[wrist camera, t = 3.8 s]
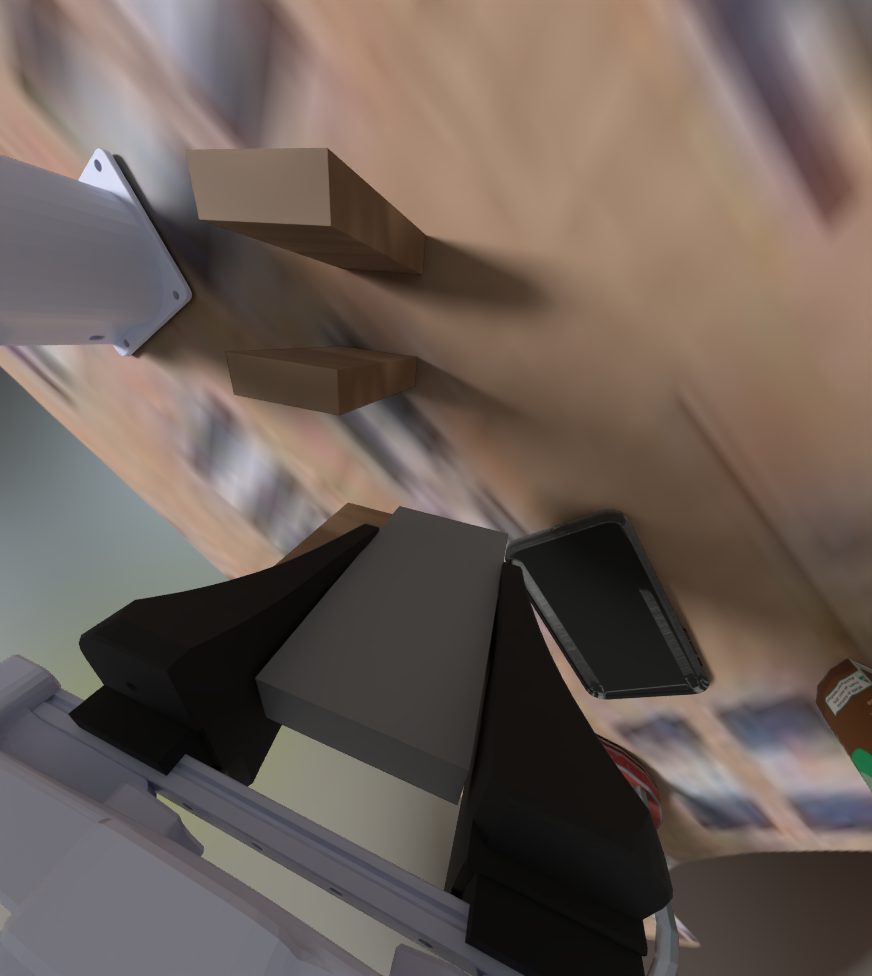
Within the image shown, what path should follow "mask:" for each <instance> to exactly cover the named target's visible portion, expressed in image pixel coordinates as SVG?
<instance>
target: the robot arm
mask: <svg viewBox="0 0 872 976" xmlns="http://www.w3.org/2000/svg"><path fill="white" fill-rule="evenodd" d="M191 298H192V292H191V290H190V288H189V286H188V284H187V282H186V281H185V279H184V277H183V276H182V274H181V272H180V270H179V269H178V267H177V265H176V264H175V262H174V260H173V258H172V257H171V255H170V253H169V252H168V250H167V248H166V247H165V245H164V243H163V241H162V240H161V238H160V236H159V235H158V233H157V231H156V229H155V228H154V226H153V224H152V223H151V221H150V219H149V217H148V216H147V214H146V212H145V211H144V209H143V207H142V205H141V204H140V202H139V200H138V199H137V197H136V195H135V193H134V192H133V190H132V188H131V187H130V185H129V183H128V181H127V180H126V178H125V176H124V175H123V173H122V171H121V170H120V168H119V166H118V164H117V163H116V161H115V159H114V158H113V156H112V155H111V153H110V152H108V151H106V150H104V149H102V148H98V149H96V151H95V153H94V154H93V156H92V158H91V159H90V161H89V163H88V165H87V166H86V168H85V170H84V171H83V173H82V175H81V177H80V178H79V180H75V179H72V178H69V177H66V176H63V175H60V174H57V173H54V172H51V171H48V170H45V169H42V168H39V167H36V166H33V165H30V164H27V163H24V162H21V161H18V160H16V159H13V158H10V157H7V156H4V155H1V154H0V345H1V346H24V345H86V344H113V346H114V347H115V349H116V350H117V352H118V353H119V354H120V355H122V356H124V357H125V356H131V355H132V354H133V353H134V352H135V351H136V350H137V349H138V348H139V347H140V346H141V345H142V344H143V343H145V342H146V341H147V340H148V339H149V338H150V337H151V336H152V335H153V334H154V333H155V332H156V331H157V330H159V329H160V328H161V327H162V326H163V325H164V324H165V323H166V322H167V321H168V320H169V319H170V318H172V317H173V316H174V315H175V314H176V313H177V312H178V311H179V310H180V309H181V308H182V307H183V306H184V305H186V304H187V303H188V302H189V301H190V300H191ZM378 532H379V527H376V526H373V525H369V524H363V525H361V526H359V527H357V528H355V529H353V530H351V531H349V532H347V533H345V534H344V535H342V536H340V537H338V538H336V539H334V540H332V541H330V542H328V543H326V544H324V545H322V546H320V547H318V548H316V549H313V550H311V551H309V552H307V553H305V554H302V555H300V556H298V557H296V558H294V559H291V560H289V561H286V562H284V563H281V564H279V565H276V566H273V567H271V568H268V569H265V570H262V571H259V572H256V573H253V574H250V575H246V576H243V577H240V578H236V579H233V580H230V581H227V582H223V583H219V584H215V585H210V586H206V587H202V588H198V589H193V590H189V591H184V592H179V593H173V594H168V595H162V596H156V597H151V598H145V599H138V600H134V601H133V602H131V603H130V604H128V605H127V606H125V607H124V608H122V609H120V610H119V611H117V612H116V613H114V614H113V615H111V616H110V617H108V618H107V619H105V620H104V621H102V622H101V623H99V624H97V625H96V626H94V627H93V628H91V629H90V630H88V631H87V632H85V633H84V634H82V635H81V638H80V641H79V646H80V649H81V651H82V653H83V655H84V656H85V658H86V659H87V661H88V662H89V664H90V665H91V667H92V668H93V670H94V671H95V672H96V674H97V675H98V677H99V678H100V680H101V681H102V683H103V684H104V686H102V687H101V688H100V689H99V690H97V691H96V692H95V693H94V694H92V695H91V696H90V697H89V698H87V699H86V700H85V701H84V700H83V699H80V698H79V697H77V696H75V695H73V694H71V693H69V692H67V691H65V690H64V689H62V688H61V685H60V683H59V682H58V680H57V679H56V678H55V677H54V676H53V675H52V674H51V673H50V672H49V671H48V670H46V669H45V668H43V667H42V666H40V665H38V664H36V663H34V662H32V661H30V660H28V659H26V658H24V657H22V656H21V655H12V656H11V657H9V658H7V659H6V660H4V661H2V662H1V663H0V903H1V904H2V905H3V906H5V908H6V909H8V910H9V911H10V912H11V913H12V914H11V916H9V918H8V919H7V920H6V921H5V923H4V926H3V929H2V931H1V932H0V976H382V975H381V974H379V973H378V972H376V971H375V970H373V969H372V968H370V967H369V966H367V965H366V964H365V963H363V962H362V961H360V960H359V959H357V958H356V957H354V956H353V955H351V954H350V953H348V952H347V951H345V950H344V949H342V948H341V947H340V946H338V945H337V944H335V943H334V942H332V941H331V940H329V939H328V938H326V937H325V936H323V935H322V934H320V933H319V932H318V931H316V930H315V929H313V928H312V927H310V926H309V925H307V924H305V923H304V922H303V921H301V920H300V919H298V918H297V917H295V916H294V915H292V914H291V913H289V912H288V911H286V910H285V909H283V908H281V907H280V906H279V905H277V904H275V903H274V902H273V901H271V900H269V899H268V898H266V897H264V896H263V895H262V894H260V893H259V892H257V891H255V890H254V889H252V888H251V887H249V886H247V885H246V884H244V883H243V882H241V881H240V880H238V879H237V878H235V877H233V876H232V875H230V874H228V873H227V872H225V871H223V870H222V869H220V868H219V867H217V866H215V865H214V864H212V863H210V862H209V861H207V860H205V859H204V858H202V857H201V855H202V854H203V851H204V846H203V845H202V844H201V843H200V842H198V840H197V839H196V838H194V836H193V835H192V834H191V833H190V832H189V831H188V830H187V829H186V827H185V826H184V824H183V823H182V821H181V818H180V816H179V815H178V814H177V813H176V812H174V811H173V810H172V809H170V808H169V807H168V806H166V805H165V804H164V803H162V802H161V801H160V800H158V799H157V798H156V794H157V793H158V794H159V795H161V796H163V797H165V798H166V799H168V800H170V801H172V802H173V803H175V804H177V805H178V806H180V807H182V808H184V809H186V810H187V811H189V812H191V813H192V814H194V815H196V816H197V817H199V818H201V819H203V820H204V821H206V822H208V823H210V824H211V825H213V826H215V827H217V828H219V829H220V830H222V831H223V832H225V833H227V834H229V835H230V836H232V837H234V838H236V839H237V840H239V841H241V842H242V843H244V844H246V845H248V846H249V847H251V848H253V849H255V850H256V851H258V852H260V853H261V854H263V855H265V856H267V857H268V858H270V859H272V860H273V861H275V862H277V863H279V864H281V865H282V866H284V867H286V868H287V869H289V870H291V871H293V872H294V873H296V874H298V875H299V876H301V877H303V878H305V879H306V880H308V881H310V882H312V883H313V884H315V885H317V886H318V887H320V888H322V889H324V890H326V891H327V892H329V893H330V894H332V895H334V896H336V897H337V898H339V899H341V900H343V901H344V902H346V903H348V904H349V905H351V906H353V907H355V908H356V909H358V910H360V911H362V912H364V913H365V914H367V915H369V916H370V917H372V918H374V919H375V920H377V921H379V922H381V923H382V924H384V925H386V926H387V927H389V928H391V929H393V930H394V931H396V932H398V933H400V934H401V935H403V936H405V937H407V938H408V939H410V940H412V941H413V942H415V943H417V944H419V945H420V946H422V947H424V948H426V949H427V950H429V951H431V952H432V953H434V954H436V955H438V956H439V957H441V958H443V959H444V960H446V961H448V962H450V963H451V964H450V963H448V962H445V961H443V960H441V959H438V958H436V957H433V956H431V955H428V954H426V953H423V952H421V951H419V950H416V949H414V948H411V947H409V946H406V945H404V944H400V945H399V946H398V947H396V950H395V954H394V958H393V962H392V966H391V971H390V975H389V976H469V975H468V974H467V973H469V974H470V975H472V976H645V974H644V967H643V962H642V956H647V949H648V948H647V942H646V936H645V931H644V925H643V919H645V918H647V917H649V916H650V915H652V914H654V913H656V912H658V911H660V910H662V909H663V908H664V907H665V906H666V905H667V904H668V903H669V902H670V901H671V899H672V898H673V894H672V893H673V888H672V884H671V880H670V876H669V872H668V867H667V863H666V859H665V856H664V853H663V850H662V846H661V843H660V840H659V837H658V834H657V831H656V828H655V825H654V822H653V819H652V816H651V813H650V811H649V809H648V808H647V806H646V805H645V804H644V802H643V801H642V800H641V798H640V797H639V795H638V794H637V793H636V791H635V790H634V789H633V787H632V786H631V785H630V783H629V782H628V780H627V779H626V778H625V776H624V775H623V774H622V772H621V771H620V770H619V768H618V767H617V765H616V764H615V762H614V761H613V760H612V758H611V757H610V755H609V754H608V752H607V751H606V749H605V748H604V746H603V745H602V743H601V742H600V740H599V739H598V737H597V736H596V734H595V733H594V731H593V729H592V728H591V726H590V724H589V723H588V721H587V719H586V718H585V716H584V714H583V713H582V711H581V709H580V708H579V706H578V704H577V703H576V701H575V700H574V698H573V696H572V694H571V693H570V691H569V689H568V687H567V685H566V683H565V682H564V680H563V678H562V676H561V674H560V672H559V670H558V668H557V666H556V664H555V662H554V660H553V658H552V656H551V654H550V652H549V649H548V647H547V645H546V643H545V640H544V638H543V635H542V633H541V631H540V628H539V625H538V623H537V620H536V617H535V614H534V612H533V609H532V606H531V603H530V600H529V596H528V593H527V589H526V585H525V581H524V576H523V570H522V568H521V567H520V566H517V565H513V564H510V563H506V562H503V564H502V568H501V574H500V580H499V586H498V598H497V604H496V610H495V616H494V622H493V629H492V635H491V641H490V647H489V653H488V659H487V665H486V671H485V677H484V683H483V689H482V695H481V701H480V707H479V713H478V719H477V725H476V731H475V737H474V744H473V750H472V756H471V762H470V768H469V772H468V775H467V778H466V781H465V784H464V790H463V795H462V800H461V805H460V811H459V816H458V821H457V826H456V831H455V837H454V842H453V847H452V852H451V858H450V863H449V867H448V872H447V877H446V882H445V888H444V890H442V889H440V888H438V887H436V886H434V885H432V884H430V883H428V882H427V881H425V880H423V879H421V878H419V877H417V876H415V875H413V874H411V873H409V872H408V871H405V870H404V869H402V868H400V867H398V866H396V865H394V864H393V863H391V862H389V861H387V860H385V859H383V858H381V857H379V856H377V855H376V854H374V853H372V852H370V851H368V850H366V849H364V848H362V847H360V846H359V845H357V844H355V843H353V842H351V841H349V840H347V839H345V838H343V837H341V836H340V835H338V834H336V833H334V832H332V831H330V830H328V829H326V828H325V827H322V826H321V825H319V824H317V823H315V822H313V821H311V820H309V819H308V818H306V817H304V816H302V815H300V814H298V813H296V812H294V811H292V810H291V809H289V808H287V807H285V806H283V805H281V804H279V803H277V802H275V801H273V800H272V799H270V798H268V797H266V796H264V795H262V794H260V793H258V792H256V791H255V790H253V789H250V788H249V787H248V786H249V785H250V784H252V783H253V781H254V779H255V777H256V775H257V773H258V771H259V769H260V767H261V765H262V763H263V761H264V759H265V757H266V755H267V753H268V751H269V749H270V747H271V745H272V743H273V741H274V739H275V737H276V735H277V733H278V731H279V729H280V727H281V726H282V724H280V723H278V722H275V721H273V720H271V719H269V718H267V717H266V715H265V711H264V708H263V704H262V701H261V697H260V694H259V690H258V687H257V683H256V680H255V678H256V676H257V675H258V674H259V673H260V672H261V670H262V669H263V668H264V667H265V666H266V664H267V663H268V662H269V661H270V660H271V659H272V657H273V656H274V655H275V654H276V653H277V651H278V650H279V649H280V648H281V647H282V645H283V644H284V643H285V642H286V641H287V639H288V638H289V637H290V636H291V635H292V634H293V632H294V631H295V630H296V629H297V628H298V626H299V625H300V624H301V623H302V622H303V620H304V619H305V618H306V617H307V616H308V614H309V613H310V612H311V611H312V610H313V609H314V607H315V606H316V605H317V604H318V603H319V601H320V600H321V599H322V598H323V597H324V595H325V594H326V593H327V592H328V591H329V589H330V588H331V587H332V586H333V585H334V584H335V582H336V581H337V580H338V579H339V578H340V576H341V575H342V574H343V573H344V572H345V570H346V569H347V568H348V567H349V566H350V564H351V563H352V562H353V561H354V560H355V559H356V557H357V556H358V555H359V554H360V553H361V552H362V551H363V550H364V549H365V548H366V547H367V546H368V544H369V543H370V542H371V541H372V540H373V538H374V537H375V536H376V535H377V534H378ZM452 964H453V965H452ZM454 965H455V966H457V967H458V968H457V967H455V966H454ZM459 968H460V969H462V970H463V971H462V970H460V969H459ZM464 971H465V972H467V973H465V972H464Z"/></svg>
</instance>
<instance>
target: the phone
mask: <svg viewBox="0 0 872 976" xmlns="http://www.w3.org/2000/svg"><path fill="white" fill-rule="evenodd" d="M590 516H591V517H590ZM589 517H590V518H589ZM564 526H566V527H564ZM561 527H563V528H561ZM558 528H560V529H558ZM555 529H557V530H555ZM552 530H554V531H552ZM505 561H506V563H510V564H513V565H517V566H520V567H521V568H522V570H523V576H524V581H525V585H526V589H527V593H528V596H529V600H530V602H531V603H532V605H533V607H534V608H535V610H536V611H537V613H538V615H539V616H540V618H541V619H542V621H543V623H544V624H545V626H546V627H547V629H548V630H549V632H550V634H551V635H552V637H553V638H554V640H555V642H556V643H557V645H558V646H559V648H560V650H561V651H562V653H563V654H564V656H565V658H566V659H567V661H568V662H569V664H570V665H571V667H572V669H573V670H574V672H575V673H576V675H577V677H578V678H579V680H580V681H581V683H582V685H583V686H584V688H585V689H586V691H587V692H588V693H589V694H590V695H592V696H594V697H596V698H600V699H623V698H640V697H656V696H672V695H689V694H698V693H701V692H704V691H705V690H706V689H707V688H708V686H709V682H708V679H707V677H706V675H705V673H704V671H703V669H702V667H701V666H702V664H701V662H700V660H699V658H697V657H696V655H695V654H697V653H696V651H695V649H694V647H693V645H692V643H691V641H690V642H689V640H690V638H689V636H688V634H687V632H686V630H685V629H683V628H682V626H681V624H680V622H679V620H678V618H677V616H676V614H675V612H674V610H673V608H672V606H671V604H670V602H669V600H668V598H667V596H666V594H665V592H664V590H663V588H662V586H661V584H660V582H659V580H658V578H657V576H656V574H655V572H654V570H653V568H652V565H651V563H650V561H649V559H648V557H647V555H646V553H645V551H644V549H643V547H642V545H641V543H640V541H639V539H638V537H637V535H636V533H635V531H634V529H633V527H632V525H631V523H630V521H629V519H628V518H627V517H626V515H624V514H623V513H621V512H620V511H616V510H608V509H606V510H601V511H598V512H595V513H592V514H589V515H586V516H583V517H580V518H577V519H574V520H572V521H569V522H566V523H563V524H560V525H557V526H554V527H551V528H548V529H545V530H542V531H539V532H536V533H533V534H531V535H528V536H525V537H522V538H519V539H516V540H514V541H512V542H511V543H510V544H509V545H508V546H507V549H506V554H505Z"/></svg>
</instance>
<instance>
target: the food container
mask: <svg viewBox="0 0 872 976" xmlns="http://www.w3.org/2000/svg"><path fill="white" fill-rule="evenodd" d="M816 703H817V705H818V707H819V709H820V711H821V713H822V714H823V716H824V718H825V720H826V721H827V723H828V724H829V726H830V727H831V729H832V731H833V732H834V734H835V735H836V737H837V738H838V740H839V741H840V743H841V745H842V746H843V748H844V749H845V751H846V752H847V754H848V756H849V757H850V759H851V760H852V762H853V763H854V765H855V766H856V768H857V770H858V771H859V773H860V774H861V776H862V777H863V779H864V781H865V782H866V784H867V785H868V787H869V788H870V790H871V792H872V669H871V668H869V667H867V666H864V665H862V664H860V663H858V662H856V661H853V660H851V659H849V658H847V659H846V660H844V661H843V662H841V663H840V664H838V665H837V666H835V667H833V668H832V669H830V671H829V672H828V673H827V674H826V676H825V677H824V678H823V679H822V681H821V682H820V683H819V684H818V686H817V695H816Z"/></svg>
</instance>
